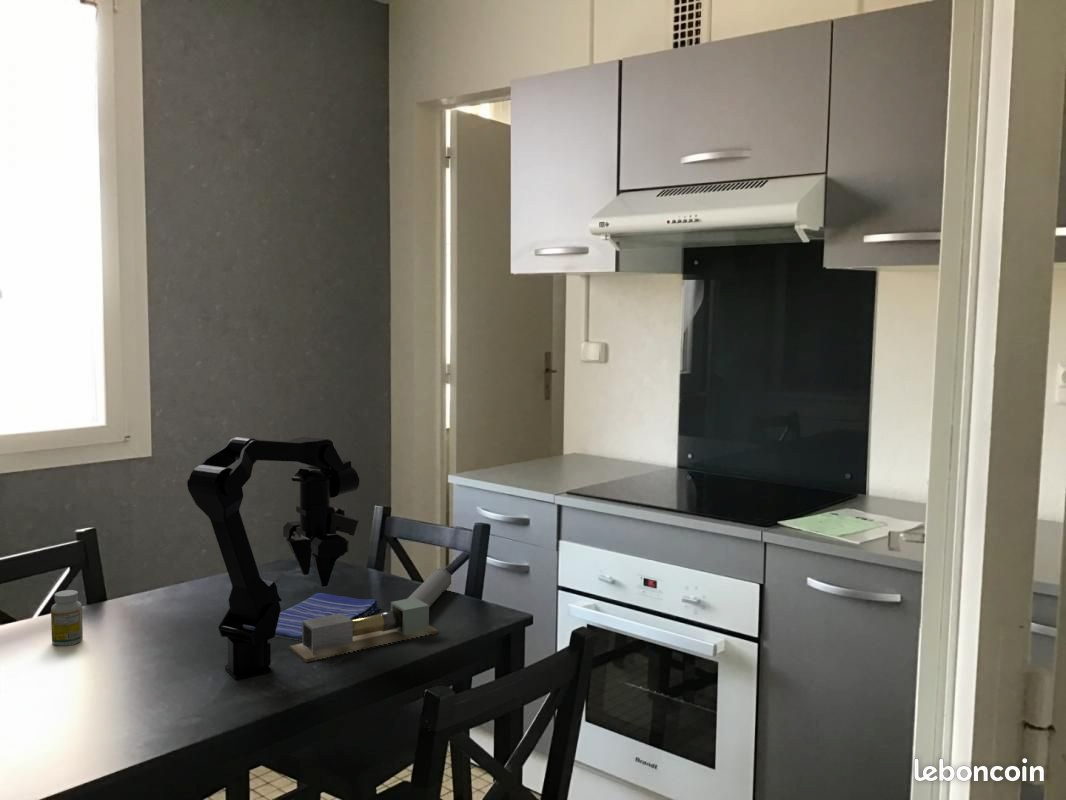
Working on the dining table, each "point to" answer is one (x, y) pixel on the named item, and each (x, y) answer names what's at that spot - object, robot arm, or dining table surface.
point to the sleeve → (327, 633)
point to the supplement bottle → (66, 619)
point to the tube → (432, 586)
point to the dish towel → (320, 612)
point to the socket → (412, 615)
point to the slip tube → (378, 623)
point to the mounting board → (360, 643)
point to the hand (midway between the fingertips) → (315, 580)
